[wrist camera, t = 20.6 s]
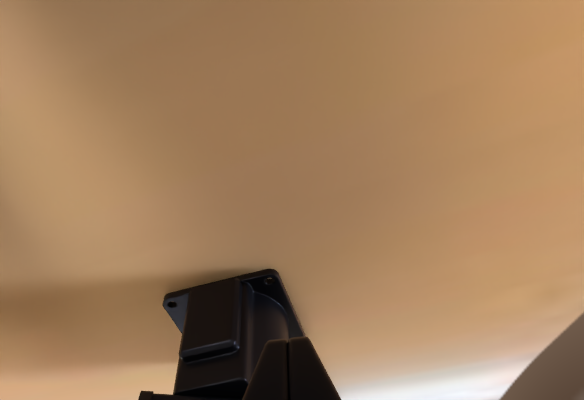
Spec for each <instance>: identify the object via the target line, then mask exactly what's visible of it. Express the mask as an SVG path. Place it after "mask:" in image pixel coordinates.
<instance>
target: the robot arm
mask: <svg viewBox="0 0 584 400" xmlns="http://www.w3.org/2000/svg"><path fill="white" fill-rule="evenodd" d="M267 278H272V279H267ZM171 301H173V302H171ZM163 307H164V308H165V310H166V311H167V312H168V314H169V315H170V317H171V318H172V320H173V321H174V323H175V324H176V326H177V327H178V329H179V330H180V331H181V333H182V338H181V344H180V350H179V362H178V368H177V374H176V380H175V386H174V392H173V395H169V394H153V391H141V393H140V396H139V399H138V400H341V398H340V396H339V395H338V393H337V391H336V389H335V387H334V385H333V383H332V381H331V379H330V377H329V376H328V374H327V372H326V370H325V368H324V366H323V364H322V362H321V360H320V358H319V356H318V355H317V353H316V351H315V349H314V347H313V345H312V343H311V341H310V340H309V338H308V337H306V336H305V333H304V331H303V329H302V326H301V324H300V322H299V319H298V317H297V315H296V312H295V310H294V308H293V306H292V303H291V301H290V299H289V296H288V294H287V292H286V289H285V287H284V285H283V283H282V280H281V278H280V276H279V273H278V272H277V271H276V270H274V269H265V270H261V271H257V272H253V273H249V274H245V275H241V276H237V277H233V278H229V279H225V280H220V281H216V282H212V283H208V284H204V285H200V286H196V287H192V288H188V289H184V290H180V291H176V292H171V293H168V294H166V295H165V296H164V300H163Z"/></svg>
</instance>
